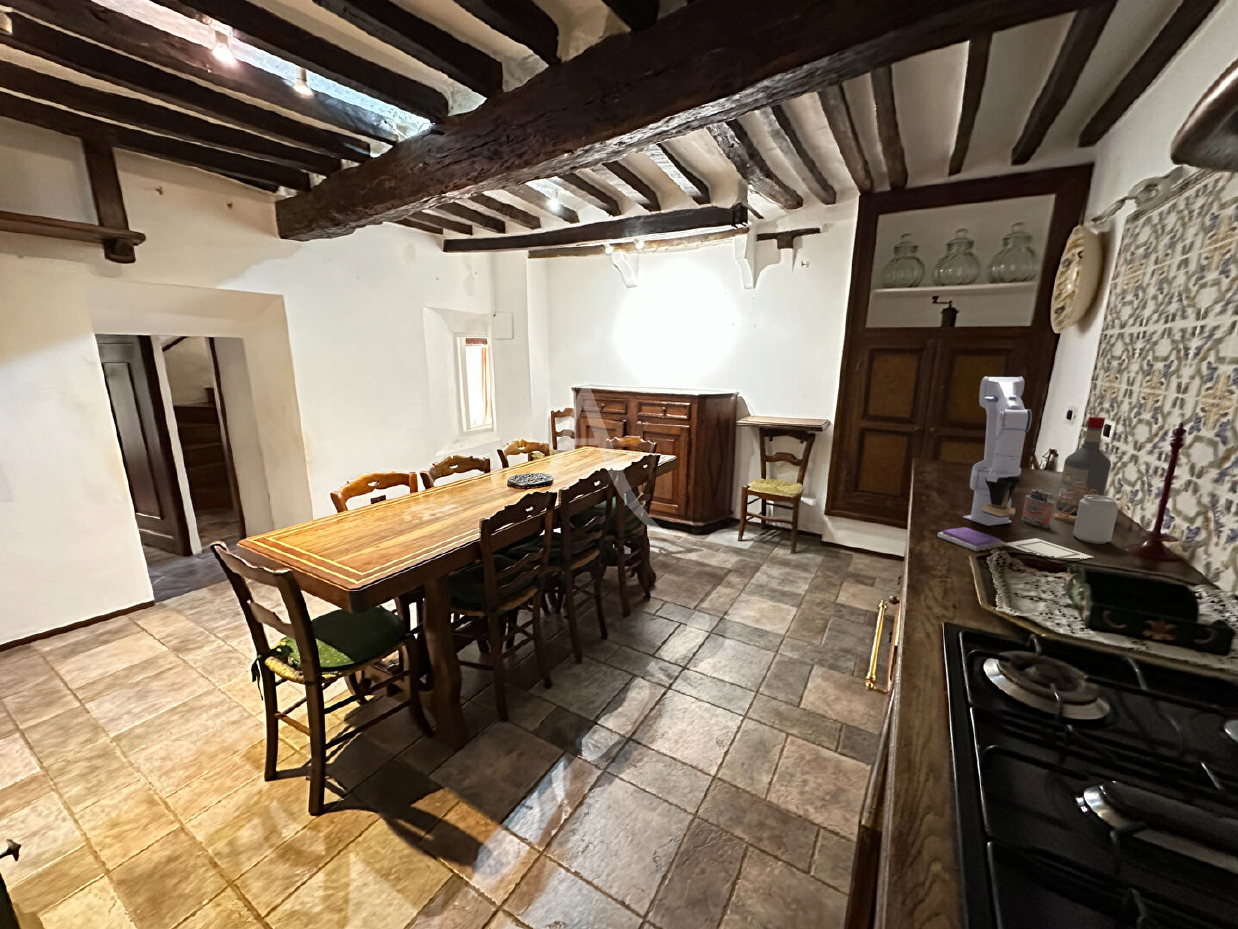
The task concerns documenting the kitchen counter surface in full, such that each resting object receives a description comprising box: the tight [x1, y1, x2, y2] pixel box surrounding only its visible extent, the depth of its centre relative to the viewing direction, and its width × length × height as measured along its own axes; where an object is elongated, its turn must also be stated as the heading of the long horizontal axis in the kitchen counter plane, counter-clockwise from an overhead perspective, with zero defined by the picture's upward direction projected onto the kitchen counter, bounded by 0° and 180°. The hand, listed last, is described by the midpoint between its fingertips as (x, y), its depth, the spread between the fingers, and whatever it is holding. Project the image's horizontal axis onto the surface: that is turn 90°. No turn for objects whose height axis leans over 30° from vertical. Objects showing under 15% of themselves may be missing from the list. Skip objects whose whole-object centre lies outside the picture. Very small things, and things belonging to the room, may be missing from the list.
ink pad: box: [937, 526, 1006, 552], centre depth 130 cm, size 10×11×2 cm
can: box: [1072, 495, 1119, 545], centre depth 129 cm, size 8×8×12 cm
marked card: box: [1004, 537, 1094, 560], centre depth 123 cm, size 12×13×1 cm
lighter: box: [1020, 489, 1055, 529], centre depth 143 cm, size 8×3×10 cm, turn 5°
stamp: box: [982, 489, 1016, 518], centre depth 130 cm, size 5×5×7 cm
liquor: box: [1056, 416, 1112, 515], centre depth 151 cm, size 9×9×30 cm
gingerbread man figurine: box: [1052, 482, 1098, 523], centre depth 144 cm, size 9×4×12 cm, turn 51°
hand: (999, 503), depth 130 cm, fingers closed on stamp, 3 cm apart
